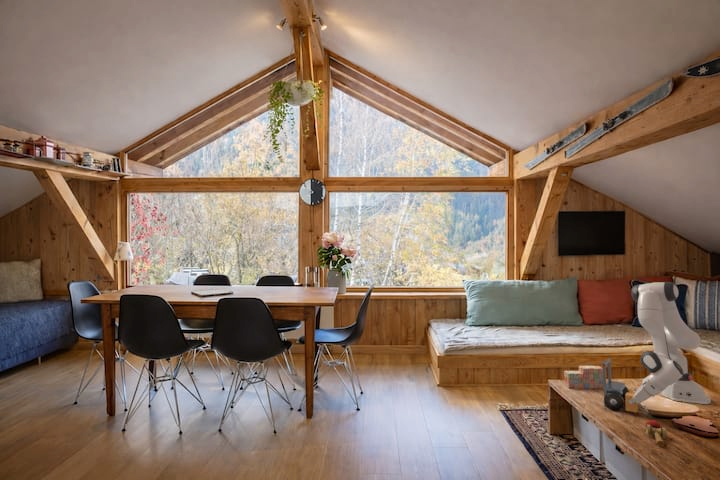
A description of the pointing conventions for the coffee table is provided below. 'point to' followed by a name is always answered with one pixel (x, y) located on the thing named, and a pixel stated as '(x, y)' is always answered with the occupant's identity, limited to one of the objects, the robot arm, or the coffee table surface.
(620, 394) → the trolley
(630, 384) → the coffee table surface
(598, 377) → the stack of blocks
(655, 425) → the kendama
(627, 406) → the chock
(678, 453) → the coffee table surface
